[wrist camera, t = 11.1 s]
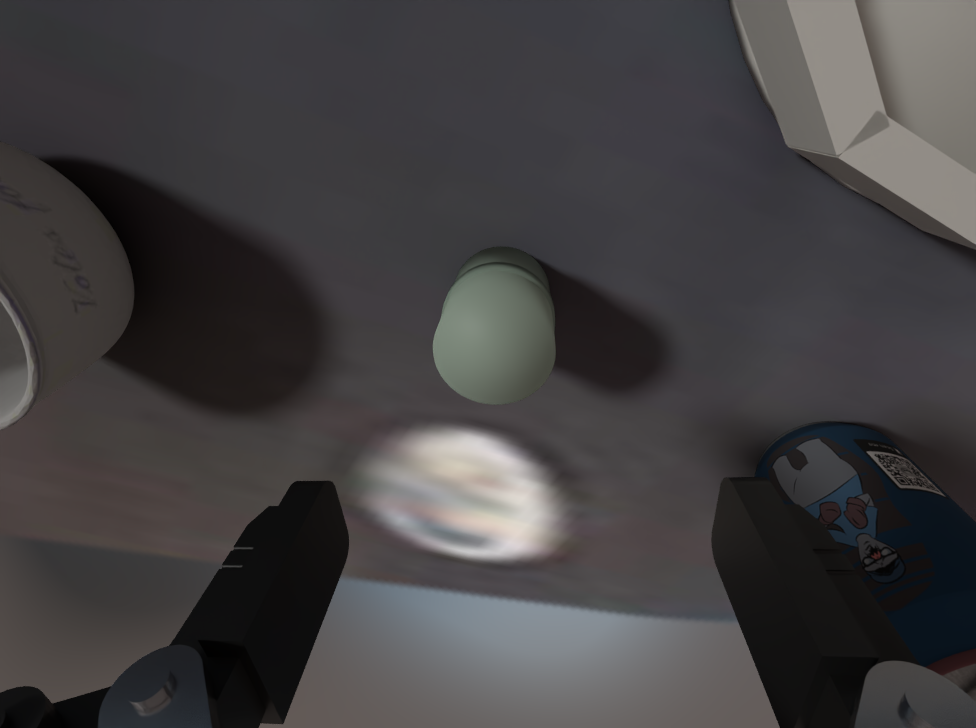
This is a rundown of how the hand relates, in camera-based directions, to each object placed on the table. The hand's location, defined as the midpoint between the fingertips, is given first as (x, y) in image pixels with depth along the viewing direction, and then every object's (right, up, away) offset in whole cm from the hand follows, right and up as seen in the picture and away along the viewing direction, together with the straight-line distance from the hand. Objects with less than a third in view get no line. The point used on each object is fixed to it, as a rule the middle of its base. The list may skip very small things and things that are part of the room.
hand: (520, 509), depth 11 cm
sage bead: (0, +6, +13) cm, 14 cm away
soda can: (+16, -2, +16) cm, 23 cm away
